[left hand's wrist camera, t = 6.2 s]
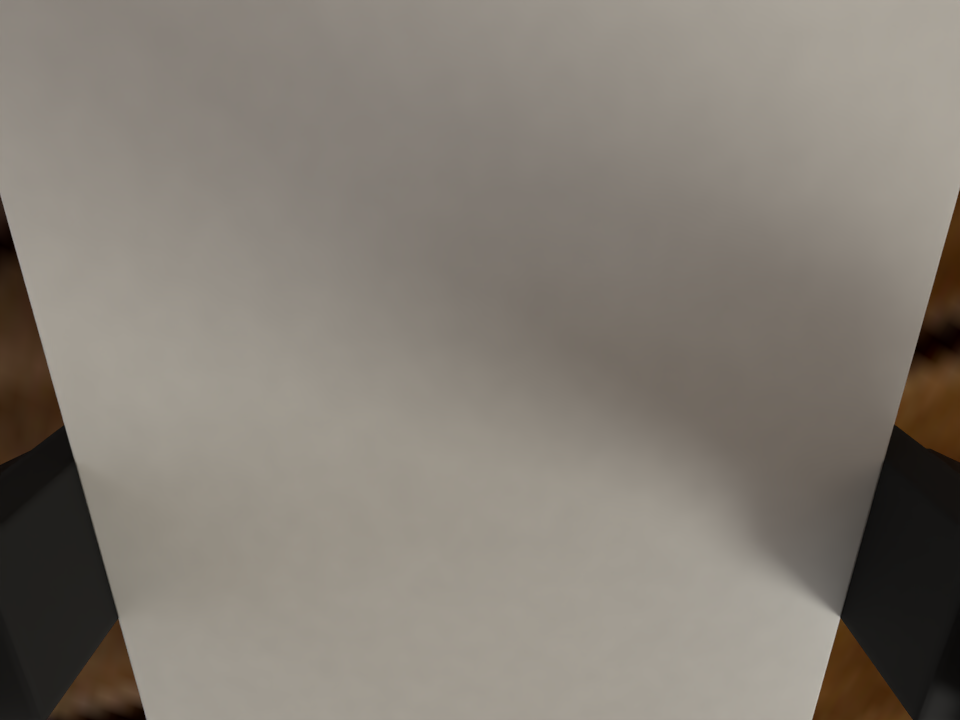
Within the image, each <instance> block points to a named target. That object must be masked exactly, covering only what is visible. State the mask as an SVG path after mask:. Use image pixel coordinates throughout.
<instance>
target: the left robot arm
mask: <svg viewBox="0 0 960 720" xmlns="http://www.w3.org/2000/svg"><path fill="white" fill-rule="evenodd" d="M117 619H118V615H117V611H116V608H115V604H114V601H113V597H112V593H111V590H110V586H109V583H108V579H107V575H106V572H105V568H104V565H103V561H102V558H101V554H100V550H99V547H98V543H97V540H96V536H95V532H94V529H93V525H92V522H91V518H90V514H89V511H88V507H87V504H86V500H85V497H84V493H83V489H82V486H81V482H80V479H79V475H78V471H77V468H76V464H75V461H74V457H73V453H72V450H71V446H70V443H69V439H68V436H67V432H66V428H65V425H64V426H62V427H61V428H60V429H58V430H57V431H56V432H55V433H53V434H52V435H51V436H49V437H48V438H47V439H45V440H44V441H43V442H41V443H40V444H39V445H38V446H36V447H35V448H34V449H32V450H31V451H29V452H27V453H25V454H22V455H20V456H18V457H16V458H14V459H12V460H10V461H8V462H6V463H4V464H1V465H0V720H46V719H47V718H48V717H49V715H50V714H51V712H52V711H53V710H54V708H55V707H56V705H57V704H58V702H59V701H60V700H61V698H62V697H63V695H64V694H65V693H66V691H67V690H68V688H69V687H70V686H71V684H72V683H73V681H74V680H75V678H76V677H77V676H78V674H79V673H80V671H81V670H82V669H83V667H84V666H85V664H86V663H87V662H88V660H89V659H90V657H91V656H92V654H93V653H94V652H95V650H96V649H97V647H98V646H99V645H100V643H101V642H102V640H103V639H104V638H105V636H106V635H107V633H108V632H109V630H110V629H111V628H112V626H113V625H114V623H115V622H116V621H117ZM841 619H842V620H843V622H844V623H845V624H846V626H847V627H848V629H849V630H850V631H851V633H852V634H853V636H854V637H855V639H856V640H857V641H858V643H859V644H860V646H861V647H862V648H863V650H864V651H865V653H866V654H867V655H868V657H869V658H870V660H871V661H872V663H873V664H874V665H875V667H876V668H877V670H878V671H879V672H880V674H881V675H882V677H883V678H884V679H885V681H886V682H887V684H888V685H889V687H890V688H891V689H892V691H893V692H894V694H895V695H896V696H897V698H898V699H899V701H900V702H901V703H902V705H903V706H904V708H905V709H906V711H907V712H908V713H909V715H910V716H911V718H912V719H913V720H960V463H959V462H957V461H955V460H953V459H951V458H949V457H947V456H944V455H942V454H940V453H938V452H936V451H934V450H932V449H926V448H924V447H923V446H922V445H920V444H919V443H918V442H916V441H915V440H914V439H913V438H911V437H910V436H909V435H907V434H906V433H905V432H903V431H902V430H901V429H899V428H898V427H897V426H895V425H894V426H893V430H892V434H891V437H890V441H889V444H888V448H887V452H886V455H885V459H884V462H883V466H882V470H881V473H880V477H879V480H878V484H877V488H876V491H875V495H874V498H873V502H872V506H871V509H870V513H869V516H868V520H867V524H866V527H865V531H864V534H863V538H862V542H861V545H860V549H859V552H858V556H857V560H856V563H855V567H854V570H853V574H852V578H851V581H850V585H849V588H848V592H847V595H846V599H845V603H844V606H843V610H842V613H841Z"/></svg>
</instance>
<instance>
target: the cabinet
mask: <svg viewBox="0 0 960 720" xmlns="http://www.w3.org/2000/svg"><path fill="white" fill-rule="evenodd" d="M959 189H960V0H0V195H1V199H2V202H3V206H4V210H5V213H6V217H7V220H8V224H9V228H10V231H11V235H12V238H13V242H14V245H15V249H16V253H17V256H18V260H19V263H20V267H21V271H22V274H23V278H24V281H25V285H26V288H27V292H28V296H29V299H30V303H31V306H32V310H33V314H34V317H35V321H36V324H37V328H38V332H39V335H40V339H41V342H42V346H43V349H44V353H45V357H46V360H47V364H48V367H49V371H50V375H51V378H52V382H53V385H54V389H55V393H56V396H57V400H58V403H59V407H60V410H61V414H62V418H63V421H64V425H65V428H66V432H67V436H68V439H69V443H70V446H71V450H72V453H73V457H74V461H75V464H76V468H77V471H78V475H79V479H80V482H81V486H82V489H83V493H84V497H85V500H86V504H87V507H88V511H89V514H90V518H91V522H92V525H93V529H94V532H95V536H96V540H97V543H98V547H99V550H100V554H101V558H102V561H103V565H104V568H105V572H106V575H107V579H108V583H109V586H110V590H111V593H112V597H113V601H114V604H115V608H116V611H117V615H118V618H119V622H120V626H121V629H122V633H123V636H124V640H125V644H126V647H127V651H128V654H129V658H130V662H131V665H132V669H133V672H134V676H135V679H136V683H137V687H138V690H139V694H140V697H141V701H142V705H143V708H144V712H145V715H146V719H147V720H812V718H813V714H814V711H815V707H816V703H817V700H818V696H819V693H820V689H821V685H822V682H823V678H824V675H825V671H826V667H827V664H828V660H829V657H830V653H831V649H832V646H833V642H834V639H835V635H836V631H837V628H838V624H839V621H840V617H841V613H842V610H843V606H844V603H845V599H846V595H847V592H848V588H849V585H850V581H851V578H852V574H853V570H854V567H855V563H856V560H857V556H858V552H859V549H860V545H861V542H862V538H863V534H864V531H865V527H866V524H867V520H868V516H869V513H870V509H871V506H872V502H873V498H874V495H875V491H876V488H877V484H878V480H879V477H880V473H881V470H882V466H883V462H884V459H885V455H886V452H887V448H888V444H889V441H890V437H891V434H892V430H893V426H894V423H895V419H896V416H897V412H898V408H899V405H900V401H901V398H902V394H903V390H904V387H905V383H906V380H907V376H908V372H909V369H910V365H911V362H912V358H913V354H914V351H915V347H916V344H917V340H918V336H919V333H920V329H921V326H922V322H923V319H924V315H925V311H926V308H927V304H928V301H929V297H930V293H931V290H932V286H933V283H934V279H935V275H936V272H937V268H938V265H939V261H940V257H941V254H942V250H943V247H944V243H945V239H946V236H947V232H948V229H949V225H950V221H951V218H952V214H953V211H954V207H955V203H956V200H957V196H958V193H959Z"/></svg>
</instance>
